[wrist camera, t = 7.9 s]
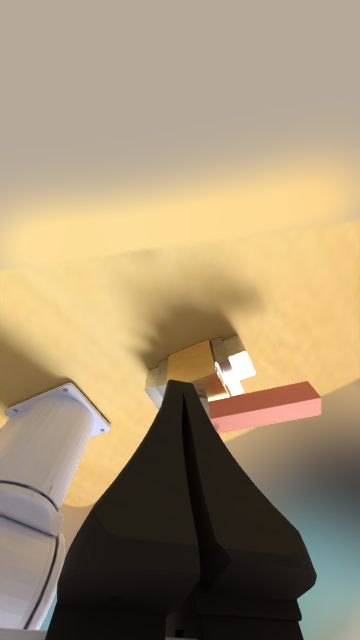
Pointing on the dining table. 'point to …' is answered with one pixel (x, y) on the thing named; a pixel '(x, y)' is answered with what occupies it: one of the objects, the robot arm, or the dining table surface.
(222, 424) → the lever
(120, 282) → the dining table surface
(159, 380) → the valve base
